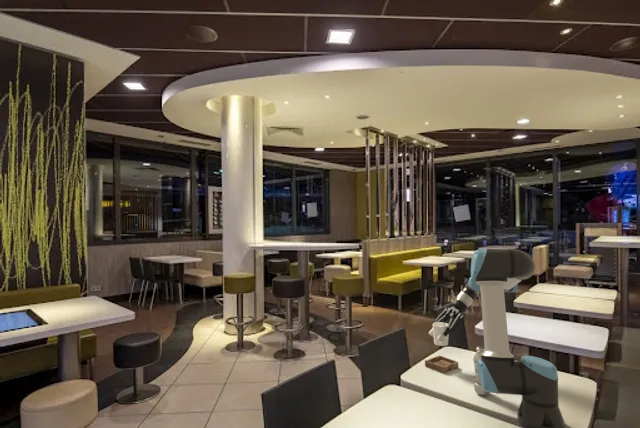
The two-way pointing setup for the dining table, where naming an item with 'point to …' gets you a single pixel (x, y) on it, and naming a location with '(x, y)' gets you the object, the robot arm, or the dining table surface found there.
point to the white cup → (437, 330)
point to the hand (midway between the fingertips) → (434, 337)
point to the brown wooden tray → (441, 364)
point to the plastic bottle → (477, 383)
